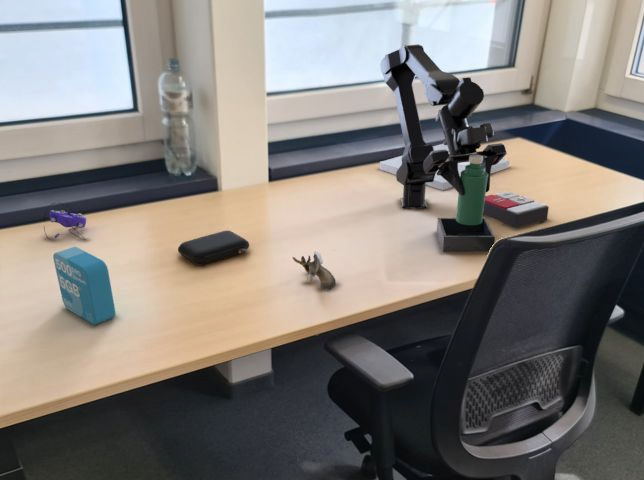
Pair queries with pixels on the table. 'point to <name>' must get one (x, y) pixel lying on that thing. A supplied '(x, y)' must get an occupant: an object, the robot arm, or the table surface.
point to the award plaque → (439, 181)
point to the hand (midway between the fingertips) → (475, 192)
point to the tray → (464, 236)
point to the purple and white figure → (67, 220)
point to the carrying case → (213, 247)
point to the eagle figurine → (317, 271)
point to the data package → (84, 285)
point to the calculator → (514, 209)
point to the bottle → (472, 192)
